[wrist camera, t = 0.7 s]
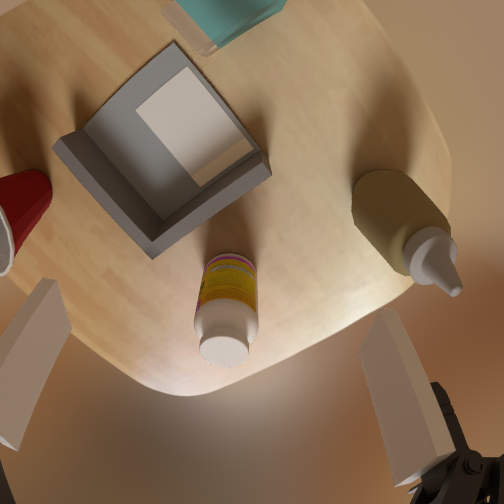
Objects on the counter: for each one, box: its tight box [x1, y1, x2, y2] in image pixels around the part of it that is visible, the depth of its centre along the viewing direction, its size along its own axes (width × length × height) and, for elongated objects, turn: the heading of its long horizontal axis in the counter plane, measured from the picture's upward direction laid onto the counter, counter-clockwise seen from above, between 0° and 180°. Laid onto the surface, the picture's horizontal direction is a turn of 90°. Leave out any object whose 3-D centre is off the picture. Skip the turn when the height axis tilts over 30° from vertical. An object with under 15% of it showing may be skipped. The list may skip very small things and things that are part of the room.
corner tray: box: [52, 42, 272, 260], centre depth 28 cm, size 16×15×5 cm
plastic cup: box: [0, 170, 52, 276], centre depth 28 cm, size 11×11×12 cm
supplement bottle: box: [194, 253, 259, 367], centre depth 34 cm, size 7×7×13 cm
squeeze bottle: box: [351, 170, 463, 296], centre depth 26 cm, size 8×8×18 cm
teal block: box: [159, 0, 287, 58], centre depth 21 cm, size 9×5×7 cm, turn 126°
